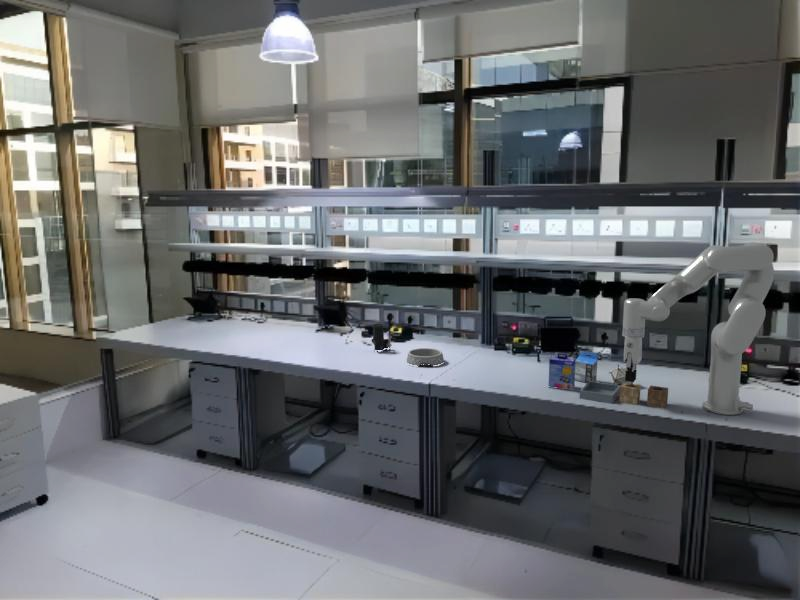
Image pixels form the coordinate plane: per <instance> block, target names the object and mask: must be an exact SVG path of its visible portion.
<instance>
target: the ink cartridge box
mask: <svg viewBox="0 0 800 600" xmlns="http://www.w3.org/2000/svg"><path fill="white" fill-rule="evenodd" d="M576 359H577V358H575V357H569V356H568V355H567V353H558V352H557V355H551V356H550V357H549V361H548V386H550V387H557V388H564V389H563V390H566V389H570V390H569V391H574V390H575V383H576V382H575V381H576V380H575V360H576ZM557 388H556V389H557Z"/></svg>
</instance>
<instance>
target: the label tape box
mask: <svg viewBox="0 0 800 600" xmlns="http://www.w3.org/2000/svg"><path fill="white" fill-rule="evenodd" d="M578 354H579V355H578V357H577V358H575V359H576V360H575V381H576V382H581V383H586V384H587V383H588V382H589V381H593V382H597V378H598V377H597V373H598V361H599V359H598V354H597V353H594V352H590V351H589V352H588V351H584V350H579V353H578Z"/></svg>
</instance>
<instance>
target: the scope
mask: <svg viewBox="0 0 800 600" xmlns="http://www.w3.org/2000/svg"><path fill="white" fill-rule="evenodd" d="M384 327H385V325H384V324H382V323H375V324H374V323H373V325H372V329H373V330H372V339H371V343H372V344H373V345H374V351H375V350H383V349H384V348H388V347H389V348H390V349H391V347H392V343H391V335H388V338H387V339H385V336H384V335H385V334H384Z"/></svg>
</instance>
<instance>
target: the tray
mask: <svg viewBox="0 0 800 600" xmlns="http://www.w3.org/2000/svg"><path fill="white" fill-rule="evenodd" d="M620 387H621V385H620V384H613V383H612V384H611V383H605V382H598V381H596V382H593V381H589V382H588V383H586V384H585V385H584V386H582V388H580V390H579V399H583V400H589V401H595V402H602V403H608V404H613V403H614V402H615V401H616V400H617V398H619V396H620Z"/></svg>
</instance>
